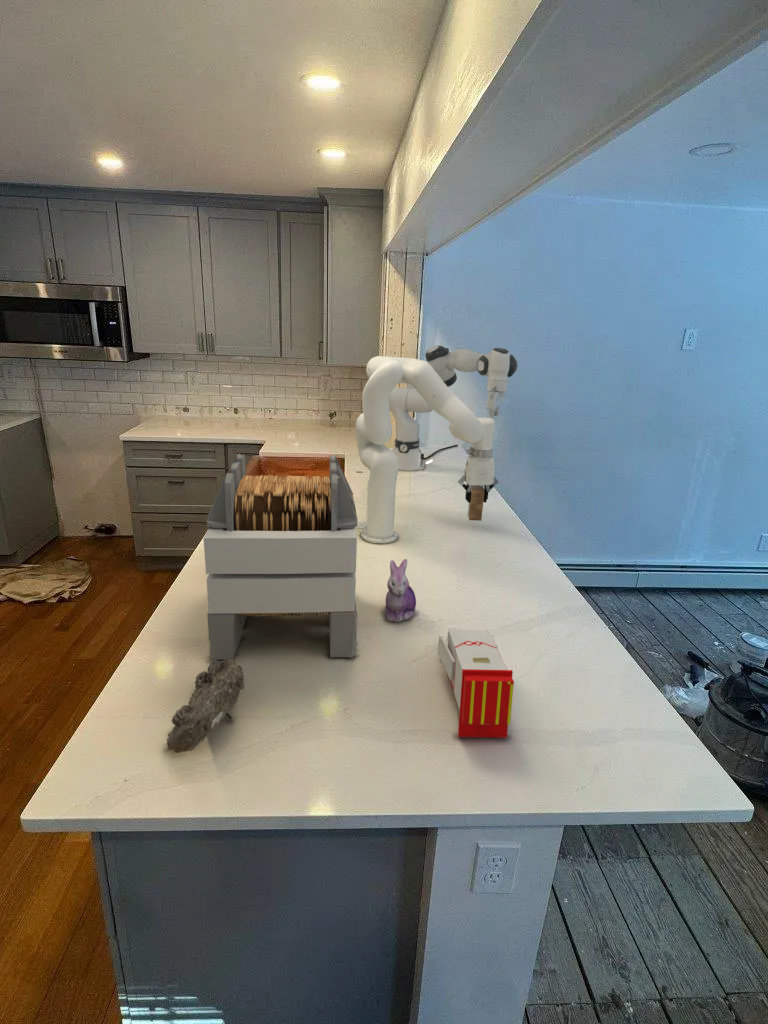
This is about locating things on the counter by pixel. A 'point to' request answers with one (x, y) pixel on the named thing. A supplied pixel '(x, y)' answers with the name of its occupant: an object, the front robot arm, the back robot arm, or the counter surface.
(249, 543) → the grey record storage stand
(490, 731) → the toy
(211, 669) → the fossil
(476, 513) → the block
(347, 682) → the counter surface
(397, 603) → the figurine
